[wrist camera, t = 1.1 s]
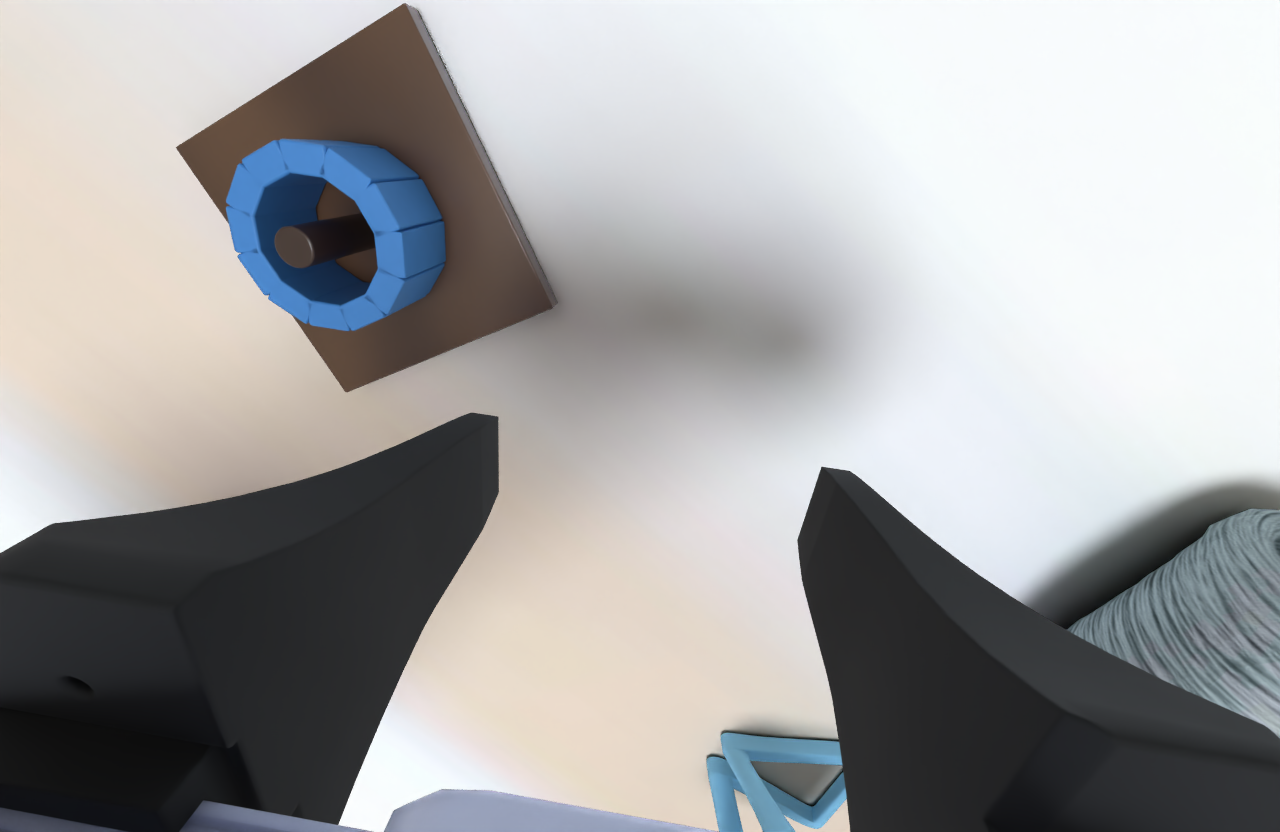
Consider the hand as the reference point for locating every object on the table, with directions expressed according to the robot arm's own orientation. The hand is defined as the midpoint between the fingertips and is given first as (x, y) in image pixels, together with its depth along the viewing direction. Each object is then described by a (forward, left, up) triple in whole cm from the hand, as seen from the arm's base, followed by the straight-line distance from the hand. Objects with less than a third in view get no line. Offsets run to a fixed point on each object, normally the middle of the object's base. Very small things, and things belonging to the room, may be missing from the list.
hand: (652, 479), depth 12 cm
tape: (-9, +8, -9) cm, 15 cm away
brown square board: (-9, +8, -10) cm, 15 cm away
